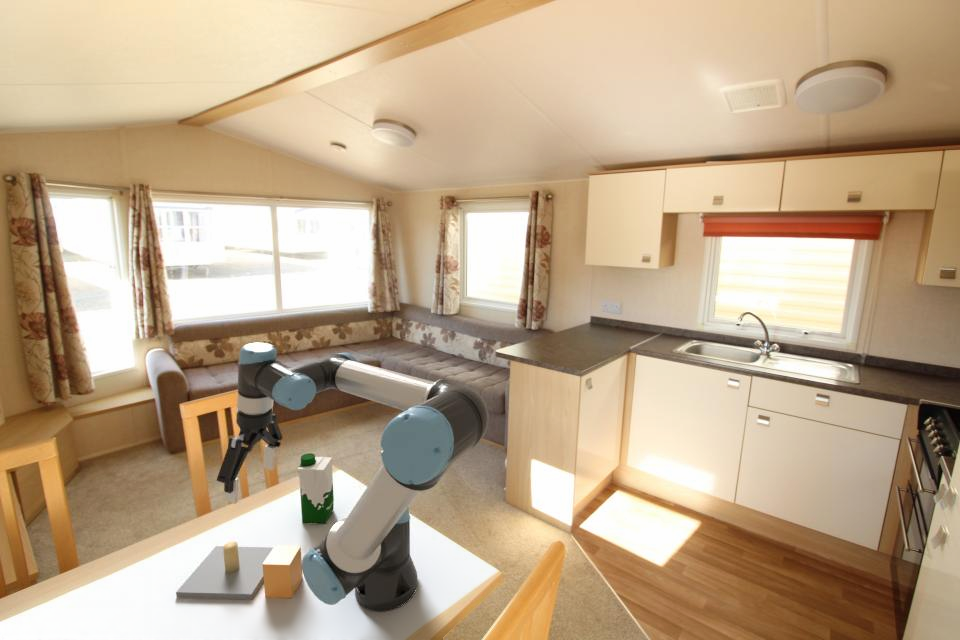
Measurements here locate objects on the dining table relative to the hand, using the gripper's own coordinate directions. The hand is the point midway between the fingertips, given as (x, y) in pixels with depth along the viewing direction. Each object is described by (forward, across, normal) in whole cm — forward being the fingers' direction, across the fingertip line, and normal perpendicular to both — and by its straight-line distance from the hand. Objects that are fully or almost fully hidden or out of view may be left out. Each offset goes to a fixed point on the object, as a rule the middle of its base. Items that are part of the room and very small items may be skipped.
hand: (250, 483), depth 110 cm
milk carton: (+26, -22, +8) cm, 35 cm away
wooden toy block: (+22, +5, +14) cm, 27 cm away
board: (+25, +4, -1) cm, 26 cm away
